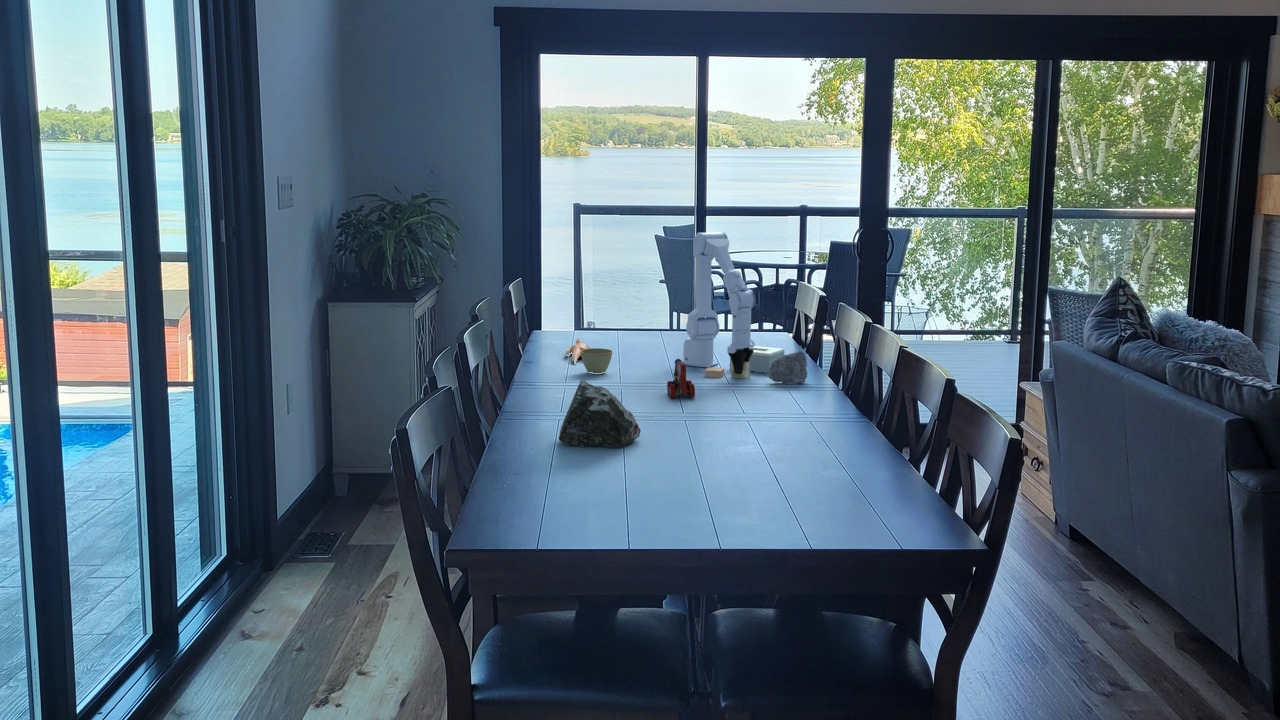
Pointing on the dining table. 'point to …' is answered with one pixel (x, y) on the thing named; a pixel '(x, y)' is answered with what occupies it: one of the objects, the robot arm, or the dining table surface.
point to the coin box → (763, 358)
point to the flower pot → (596, 359)
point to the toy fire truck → (680, 382)
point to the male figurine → (576, 349)
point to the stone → (598, 419)
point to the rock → (789, 368)
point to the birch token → (744, 372)
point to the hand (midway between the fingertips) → (740, 372)
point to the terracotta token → (714, 372)
